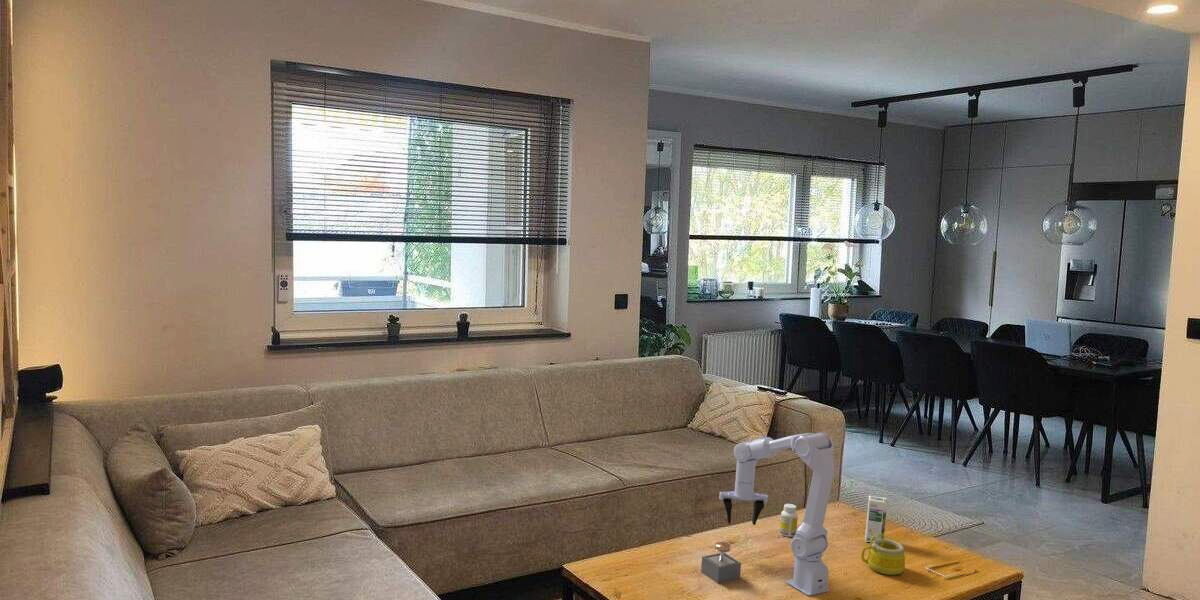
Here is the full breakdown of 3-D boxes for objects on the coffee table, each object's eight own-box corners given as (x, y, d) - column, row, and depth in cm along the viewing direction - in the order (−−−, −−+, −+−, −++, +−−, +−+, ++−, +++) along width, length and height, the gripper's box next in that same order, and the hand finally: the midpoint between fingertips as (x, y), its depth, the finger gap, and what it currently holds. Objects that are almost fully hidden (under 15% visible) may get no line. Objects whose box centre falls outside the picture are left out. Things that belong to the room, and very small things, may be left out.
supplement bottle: (795, 531, 283) (797, 503, 282) (797, 538, 277) (799, 509, 276) (778, 530, 283) (781, 502, 282) (780, 536, 278) (782, 507, 277)
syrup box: (864, 542, 277) (869, 499, 276) (864, 536, 283) (869, 494, 281) (883, 545, 276) (887, 502, 274) (882, 539, 281) (887, 497, 280)
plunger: (736, 564, 244) (737, 547, 243) (719, 567, 241) (720, 550, 240) (723, 556, 249) (724, 539, 248) (706, 559, 246) (708, 542, 246)
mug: (902, 565, 261) (906, 528, 259) (905, 580, 250) (909, 541, 249) (859, 558, 264) (863, 521, 263) (860, 572, 254) (864, 534, 252)
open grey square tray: (739, 579, 244) (741, 562, 243) (717, 584, 240) (718, 567, 239) (722, 568, 251) (724, 552, 250) (700, 572, 247) (702, 556, 246)
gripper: (766, 477, 263) (762, 519, 264) (719, 474, 263) (716, 516, 265) (770, 485, 256) (766, 528, 257) (722, 482, 256) (719, 525, 258)
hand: (741, 523), depth 260 cm, fingers open, 7 cm apart
